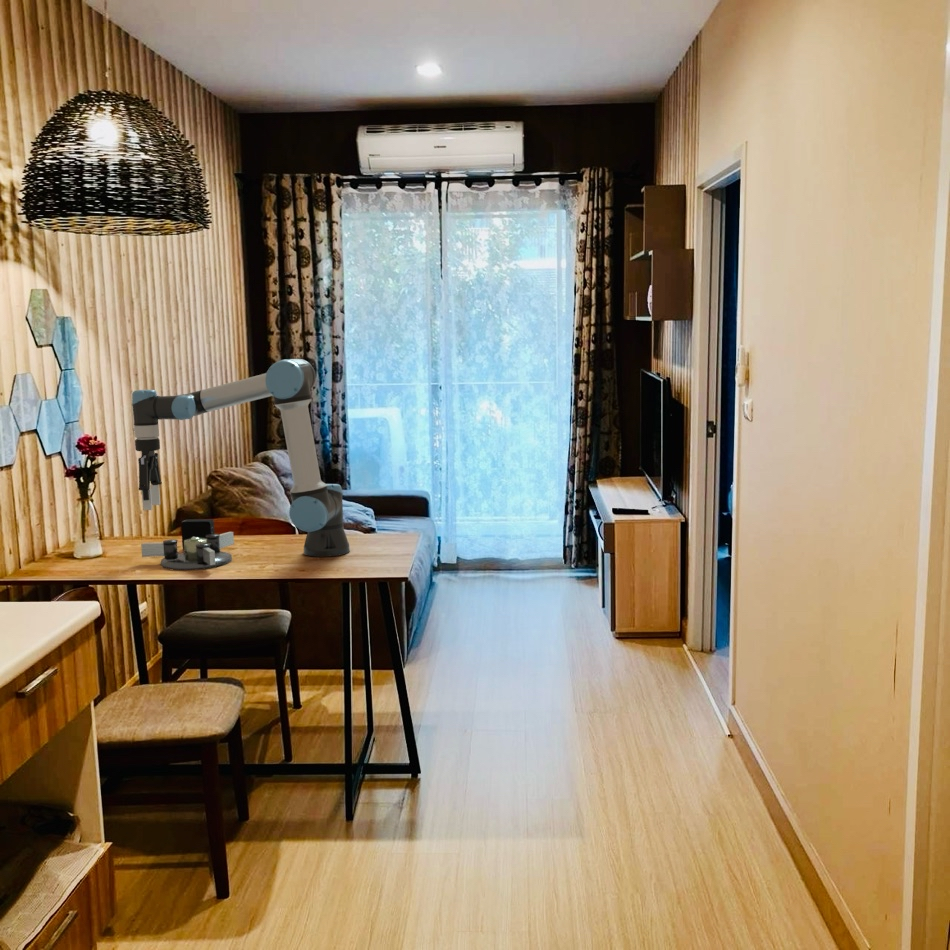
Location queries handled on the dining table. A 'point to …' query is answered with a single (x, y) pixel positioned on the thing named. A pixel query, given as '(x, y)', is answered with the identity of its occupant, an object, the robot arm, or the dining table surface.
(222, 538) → the knob
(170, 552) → the knob
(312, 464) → the robot arm
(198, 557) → the knob
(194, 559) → the tribrach
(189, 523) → the electronic device
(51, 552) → the dining table surface
